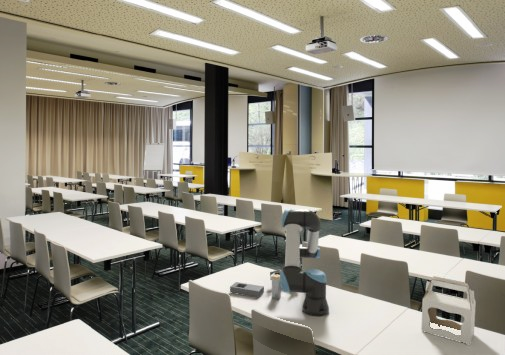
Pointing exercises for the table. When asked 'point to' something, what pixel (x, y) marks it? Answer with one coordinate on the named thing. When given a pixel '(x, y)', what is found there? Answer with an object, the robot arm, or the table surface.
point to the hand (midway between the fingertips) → (280, 279)
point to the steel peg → (276, 286)
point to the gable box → (449, 309)
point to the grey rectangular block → (247, 289)
